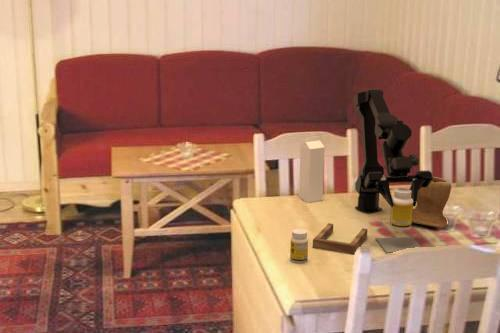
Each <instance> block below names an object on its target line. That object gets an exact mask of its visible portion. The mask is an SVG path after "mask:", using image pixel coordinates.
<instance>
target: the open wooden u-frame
mask: <svg viewBox="0 0 500 333" xmlns="http://www.w3.org/2000/svg"><path fill="white" fill-rule="evenodd" d="M333 232H334V223H329V222H328V223H327V224H326V225H325V227H323V228H322V229H321V230H320V231H319V232H318V234H317V235H316V236H315V237H313V239H312V248H313V249H318V250H324V251H330V252H335V253H337V252H338V253H342V254H343V253H344V254H348V255H349V254H350V255H354V254H355V253H356V252H357V250H358V249H359V248H360V247H361V245H362V244H363V243H364V242H365V240H366V239H367V238H368V228H365V227H364V228H363V227H362V228H361V230H360V231H359V232H358V233H357V234H356V235H355V236H354V238H353V239H352V240H351V242H345V241H344V242H343V241H337V240H330V239H328V238H329V237H330V236H331V235H332V234H333ZM359 246H360V247H359ZM358 247H359V248H358ZM357 248H358V249H357ZM356 249H357V250H356ZM355 251H356V252H355ZM354 252H355V253H354Z"/></svg>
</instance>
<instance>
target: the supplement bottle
mask: <svg viewBox="0 0 500 333" xmlns="http://www.w3.org/2000/svg"><path fill="white" fill-rule="evenodd" d="M291 235H292V236H291V237H290V256H289V258H290V261H291V262H293V263H296V264H302V263H303V264H304V263H306V262H308V252H309V251H308V250H309V238H308V231H307V230H306V229H303V228H294V229H292V232H291Z"/></svg>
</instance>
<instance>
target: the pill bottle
mask: <svg viewBox="0 0 500 333" xmlns="http://www.w3.org/2000/svg"><path fill="white" fill-rule="evenodd" d="M411 192H412V191H411V190H410V188H407V187H406V188H405V187H397V188H395V189H394V192H393V193H394V196H392V200H393V207H391V206H390V213H389V214H390V215H389V227H390V228H392V229H393V230H396V231H408V230H410V229H411V228H412V227H413V226H412V224H413V223H412V214H413V209H414V206H413V199H412V198H411Z"/></svg>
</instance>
